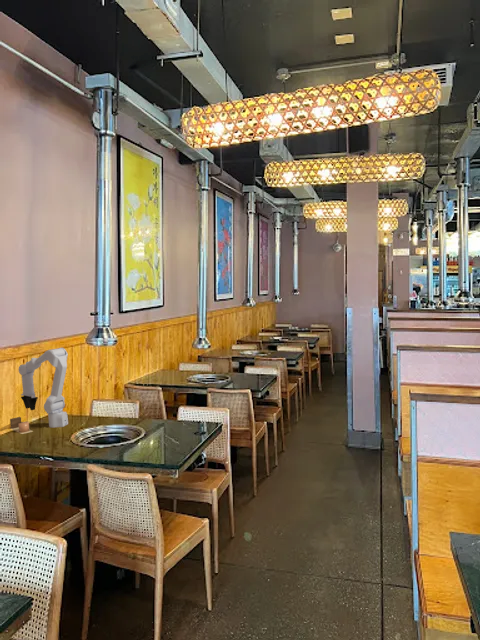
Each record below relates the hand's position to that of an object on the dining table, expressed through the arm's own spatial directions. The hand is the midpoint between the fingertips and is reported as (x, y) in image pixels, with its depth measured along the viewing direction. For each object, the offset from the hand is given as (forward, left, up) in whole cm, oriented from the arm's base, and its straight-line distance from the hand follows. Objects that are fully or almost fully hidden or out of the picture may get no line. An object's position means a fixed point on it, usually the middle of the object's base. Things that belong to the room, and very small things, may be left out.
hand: (30, 409), depth 275 cm
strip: (-1, +12, -9) cm, 15 cm away
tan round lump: (-5, +15, -8) cm, 18 cm away
